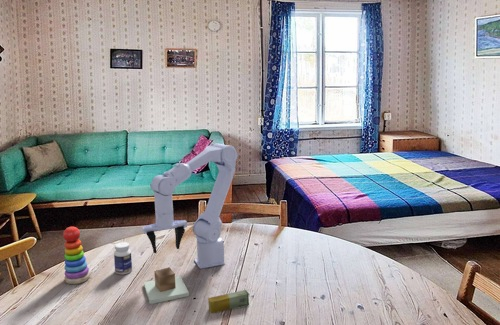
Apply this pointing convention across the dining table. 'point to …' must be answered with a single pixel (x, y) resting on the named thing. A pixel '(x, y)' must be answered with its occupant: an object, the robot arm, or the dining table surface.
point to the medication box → (228, 301)
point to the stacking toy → (74, 258)
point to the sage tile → (158, 296)
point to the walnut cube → (164, 279)
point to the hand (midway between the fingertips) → (166, 250)
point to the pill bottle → (122, 258)
